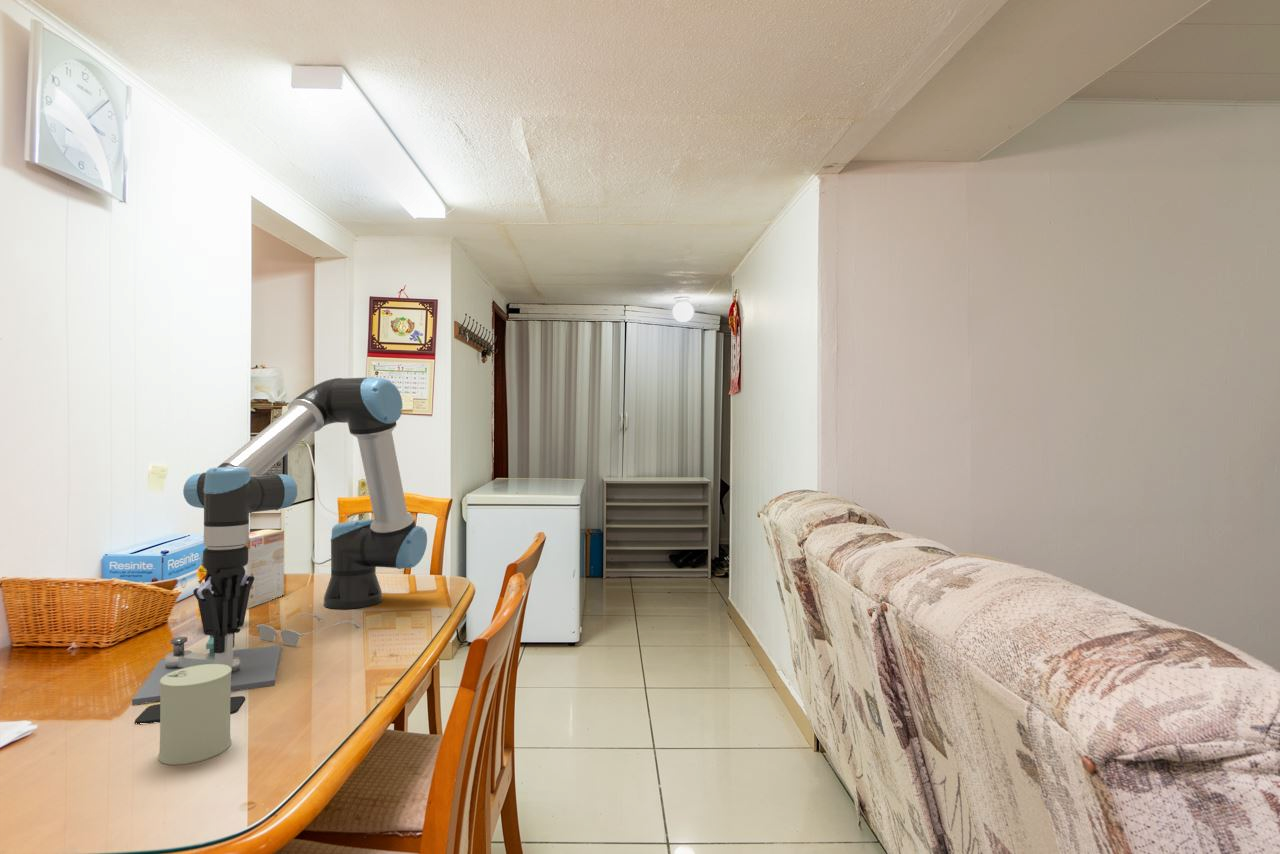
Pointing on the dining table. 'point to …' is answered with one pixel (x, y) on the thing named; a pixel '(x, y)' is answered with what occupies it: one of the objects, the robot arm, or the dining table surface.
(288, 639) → the eyeglasses
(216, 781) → the dining table surface
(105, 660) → the dining table surface
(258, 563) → the coffeecake box
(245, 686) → the board
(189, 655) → the link
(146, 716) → the phone
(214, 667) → the can
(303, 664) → the dining table surface
